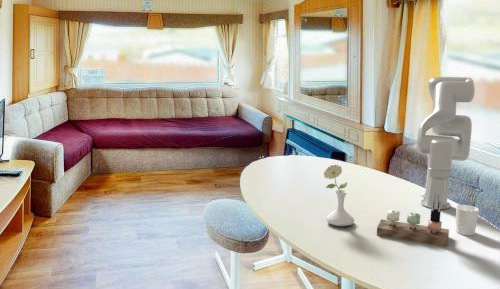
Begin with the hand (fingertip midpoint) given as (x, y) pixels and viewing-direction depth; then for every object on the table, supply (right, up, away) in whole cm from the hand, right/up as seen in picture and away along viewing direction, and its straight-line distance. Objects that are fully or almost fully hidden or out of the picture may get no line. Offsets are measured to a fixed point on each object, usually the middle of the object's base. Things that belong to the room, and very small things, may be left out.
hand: (435, 220), depth 162 cm
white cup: (+15, -6, +8) cm, 19 cm away
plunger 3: (0, -6, +2) cm, 7 cm away
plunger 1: (-13, -4, +7) cm, 16 cm away
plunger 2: (-7, -4, +4) cm, 9 cm away
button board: (-7, -7, +5) cm, 11 cm away
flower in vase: (-33, -4, +17) cm, 37 cm away
